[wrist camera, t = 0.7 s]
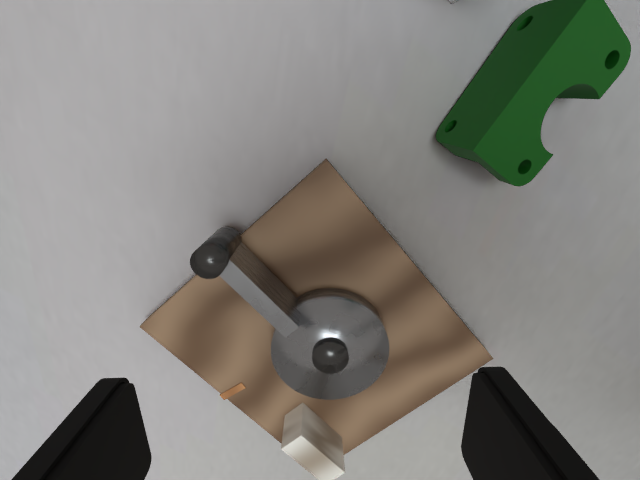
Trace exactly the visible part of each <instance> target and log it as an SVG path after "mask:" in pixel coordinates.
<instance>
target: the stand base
mask: <svg viewBox="0 0 640 480" xmlns="http://www.w3.org/2000/svg"><path fill="white" fill-rule="evenodd" d="M240 236H241V239H242V243H243V244H244V245H245V246H246V247H247V248H248V249H249V250H250V251H251V252H252V253H253V254H254V255H255V256H256V257H257V258H258V259H259V260H260V261H261V262H262V263H263V264H264V265H265V266H266V267H267V268H268V269H269V270H270V271H271V272H272V273H273V274H274V275H275V276H276V277H277V278H278V279H279V280H280V281H281V282H282V283H283V284H284V285H285V286H286V287H287V288H288V289H289V290H290V291H291V292H292V293H293V294H294V295H295V296H296V297H298V296H300V295H302V294H304V293H307V292H310V291H313V290H317V289H323V288H337V289H343V290H347V291H350V292H353V293H356V294H358V295H360V296H361V297H363V298H364V299H366V300H367V301H368V302H369V303H371V304H372V305H373V307H374V308H375V309H376V310H377V312H378V313H379V315H380V317H381V319H382V322H383V325H384V327H385V330H386V333H387V336H388V340H389V357H388V362H387V364H386V367H385V369H384V371H383V372H382V374H381V375H380V377H379V378H378V379H377V380H376V381H375V382H374V383H373V384H372V385H371V386H369V387H368V388H367V389H365V390H363V391H362V392H360V393H358V394H356V395H353V396H350V397H347V398H342V399H335V400H323V399H316V398H311V397H308V396H305V395H303V394H300V393H298V392H297V391H295V390H293V389H292V388H290V387H289V386H288V385H287V384H286V383H285V382H284V381H283V380H282V379H281V378H280V377H279V375H278V374H277V372H276V370H275V368H274V366H273V363H272V359H271V342H272V337H273V333H274V327H273V326H272V325H271V324H270V323H269V322H268V321H267V320H266V319H265V318H264V317H263V316H262V315H260V314H259V313H258V312H257V311H256V310H255V309H254V308H253V307H252V306H251V305H250V304H249V303H248V302H247V301H246V300H245V299H243V298H242V297H241V296H240V295H239V294H238V293H237V292H236V291H235V290H234V289H233V288H232V287H231V286H230V285H229V284H228V283H226V282H225V281H224V280H223V279H222V278H221V277H220V276H218V277H216V278H214V279H204V278H201V277H199V276H198V275H197V274H196V275H195V276H194V277H193V278H192V279H191V280H190V281H188V282H187V283H186V284H185V285H184V286H183V287H182V288H181V289H179V290H178V291H177V292H176V293H175V294H174V295H173V296H172V297H170V298H169V299H168V300H167V301H166V302H165V303H164V304H163V305H161V306H160V307H159V308H158V309H157V310H156V311H155V312H154V313H152V314H151V315H150V316H149V317H148V318H147V319H146V320H145V321H144V322H143V323H142V324H141V325H140V328H142V329H143V330H144V331H145V332H147V333H148V334H149V335H150V336H151V337H153V338H154V339H155V340H156V341H157V342H159V343H160V344H161V345H162V346H164V347H165V348H166V349H167V350H168V351H170V352H171V353H172V354H173V355H174V356H176V357H177V358H178V359H179V360H181V361H182V362H183V363H184V364H185V365H187V366H188V367H189V368H190V369H192V370H193V371H194V372H195V373H196V374H198V375H199V376H200V377H201V378H202V379H204V380H205V381H206V382H207V383H209V384H210V385H211V386H212V387H213V388H215V389H216V390H217V391H218V392H219V393H221V394H220V396H221V397H222V398H223V399H224V400H225V399H228V400H229V401H230V402H232V403H233V404H234V405H235V406H237V407H238V408H239V409H240V410H241V411H243V412H244V413H245V414H246V415H247V416H249V417H250V418H251V419H252V420H254V421H255V422H256V423H257V424H258V425H260V426H261V427H262V428H263V429H265V430H266V431H267V432H268V433H269V434H271V435H272V436H273V437H274V438H275V439H277V440H278V441H279V442H280V443H282V445H281V449H282V450H283V451H284V452H285V453H286V454H288V455H289V456H290V457H291V458H293V459H294V460H295V461H296V462H297V463H299V464H300V465H301V466H302V467H304V468H305V469H306V470H307V471H309V472H310V473H311V474H312V475H313V476H315V477H316V478H317V479H318V480H334V479H336V478H337V477H339V476H340V475H342V474H344V473H345V467H344V454H346V453H348V452H349V451H351V450H352V449H354V448H355V447H357V446H358V445H360V444H362V443H363V442H365V441H366V440H368V439H369V438H371V437H372V436H374V435H376V434H377V433H379V432H380V431H382V430H383V429H385V428H386V427H388V426H389V425H391V424H393V423H394V422H396V421H397V420H399V419H400V418H402V417H403V416H405V415H407V414H408V413H410V412H411V411H413V410H414V409H416V408H417V407H419V406H421V405H422V404H424V403H425V402H427V401H428V400H430V399H431V398H433V397H435V396H436V395H438V394H439V393H441V392H442V391H444V390H445V389H447V388H449V387H450V386H452V385H453V384H455V383H456V382H458V381H459V380H461V379H463V378H464V377H466V376H467V375H469V374H470V373H472V372H473V371H475V370H476V369H478V368H480V367H481V366H483V365H484V364H486V363H487V362H489V361H490V360H492V359H493V358H492V356H491V355H490V354H489V353H488V351H487V350H486V349H485V348H484V347H483V345H482V344H481V343H480V342H479V341H478V339H477V338H476V337H475V336H474V335H473V333H472V332H471V331H470V330H469V329H468V327H467V326H466V325H465V324H464V323H463V321H462V320H461V319H460V318H459V317H458V316H457V314H456V313H455V312H454V311H453V310H452V308H451V307H450V306H449V305H448V304H447V302H446V301H445V300H444V299H443V298H442V296H441V295H440V294H439V293H438V292H437V290H436V289H435V288H434V287H433V286H432V284H431V283H430V282H429V281H428V280H427V278H426V277H425V276H424V275H423V274H422V273H421V271H420V270H419V269H418V268H417V267H416V265H415V264H414V263H413V262H412V261H411V259H410V258H409V257H408V256H407V255H406V253H405V252H404V251H403V250H402V249H401V247H400V246H399V245H398V244H397V243H396V241H395V240H394V239H393V238H392V237H391V235H390V234H389V233H388V232H387V231H386V230H385V228H384V227H383V226H382V225H381V224H380V222H379V221H378V220H377V219H376V218H375V216H374V215H373V214H372V213H371V212H370V210H369V209H368V208H367V207H366V206H365V204H364V203H363V202H362V201H361V200H360V198H359V197H358V196H357V195H356V194H355V192H354V191H353V190H352V189H351V188H350V187H349V185H348V184H347V183H346V182H345V181H344V179H343V178H342V177H341V176H340V175H339V173H338V172H337V171H336V170H335V169H334V167H333V166H332V165H331V164H330V163H329V161H328V160H327V159H325V160H324V161H323V162H322V163H321V164H320V165H318V166H317V167H316V168H315V169H314V170H313V171H312V172H311V173H309V174H308V175H307V176H306V177H305V178H304V179H303V180H302V181H301V182H299V183H298V184H297V185H296V186H295V187H294V188H293V189H292V190H290V191H289V192H288V193H287V194H286V195H285V196H284V197H283V198H281V199H280V200H279V201H278V202H277V203H276V204H275V205H274V206H272V207H271V208H270V209H269V210H268V211H267V212H266V213H265V214H264V215H262V216H261V217H260V218H259V219H258V220H257V221H256V222H255V223H253V224H252V225H251V226H250V227H249V228H248V229H247V230H246V231H244V232H243V233H242V234H241V235H240Z"/></svg>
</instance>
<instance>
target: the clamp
mask: <svg viewBox="0 0 640 480" xmlns="http://www.w3.org/2000/svg"><path fill="white" fill-rule="evenodd" d="M630 52H631V45H630V42H629V40H628V38H627V36H626V35H625V33H624V32H623V30H622V28H621V27H620V25H619V24H618V22H617V20H616V19H615V17H614V16H613V14H612V12H611V11H610V9H609V8H608V6H607V4H606V3H605V1H604V0H552V1H548V2H545V3H541V4H538V5H535V6H533V7H531V8H530V9H528V10H527V11H525V12H524V13H523V14H522V15H520V16H519V17H518V18H517V19H516V20H515V21H514V23H513V24H512V25H511V26H510V28H509V29H508V31H507V32H506V33H505V35H504V36H503V38H502V39H501V41H500V42H499V43H498V45H497V46H496V48H495V49H494V50H493V52H492V53H491V55H490V56H489V57H488V59H487V60H486V62H485V63H484V64H483V66H482V67H481V69H480V70H479V72H478V73H477V74H476V76H475V77H474V79H473V80H472V81H471V83H470V84H469V86H468V87H467V88H466V90H465V91H464V93H463V94H462V95H461V97H460V98H459V100H458V101H457V102H456V104H455V105H454V107H453V108H452V110H451V111H450V112H449V114H448V115H447V117H446V118H445V119H444V121H443V122H442V124H441V125H440V127H439V128H438V130H437V133H436V139H437V141H438V142H440V143H441V144H442V145H443V146H444V147H446V148H447V149H448V150H449V151H450V152H452V153H453V154H454V155H456V156H459V157H462V158H466V159H469V160H472V161H475V162H478V163H479V164H481V165H482V166H483V167H484V168H485V169H487V170H488V171H489V172H490V173H491V174H492V175H494V176H495V177H496V178H497V179H498V180H500V181H503V182H506V183H509V184H511V185H514V186H523V185H525V184H527V183H529V182H530V181H531V180H532V179H533V178H534V177H535V176H536V175H537V174H538V172H539V171H540V170H541V169H542V168H543V166H544V165H545V164H546V163H547V162H548V160H549V159H550V158H551V157H552V156H553V154H551V153H549V152H548V151H546V149H545V148H544V147H543V145H542V142H541V125H542V121H543V118H544V116H545V113H546V111H547V109H548V108H549V106H550V105H551V103H552V102H553V101H554V99H555V98H580V99H600V98H601V97H602V95H603V94H604V93H605V92H606V91H607V89H608V88H609V87H610V86H611V85H612V83H613V82H614V81H615V80H616V79H617V77H618V76H619V75H620V74H621V73H622V71H623V70H624V68H625V67H626V65H627V63H628V60H629V57H630Z"/></svg>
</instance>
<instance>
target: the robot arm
mask: <svg viewBox="0 0 640 480" xmlns="http://www.w3.org/2000/svg"><path fill="white" fill-rule="evenodd" d="M461 449H462V455H463V458H464V461H465V463H466V465H467V467H468V469H469V471H470V473H471V476H472V478H473V480H599V479H598V477H597V476H596V475H595V474H594V473H593V472H592V470H591V469H590V468H589V467H588V466H587V464H586V463H585V462H584V461H583V460H582V458H581V457H580V456H579V455H578V454H577V452H576V451H575V450H574V449H573V448H572V446H571V445H570V444H569V443H568V442H567V440H566V439H565V438H564V437H563V436H562V435H561V433H560V432H559V431H558V430H557V429H556V428H555V427H554V426H553V425H552V424H551V423H550V422H549V420H548V419H547V418H546V417H545V416H544V414H543V413H542V412H541V411H540V410H539V408H538V407H537V406H536V405H535V404H534V402H533V401H532V400H531V399H530V398H529V396H528V395H527V394H526V393H525V392H524V390H523V389H522V388H521V387H520V386H519V384H518V383H517V382H516V381H515V380H514V378H513V377H512V376H511V375H510V374H509V372H508V371H507V370H506V369H505V368H503V367H481V368H479V370H478V373H474V374H473V376H472V381H471V388H470V394H469V400H468V406H467V413H466V419H465V425H464V431H463V438H462V444H461ZM150 464H151V452H150V448H149V444H148V440H147V436H146V432H145V427H144V423H143V419H142V415H141V411H140V407H139V403H138V399H137V395H136V391H135V387H134V385H133V384H132V383H129V381H128V379H126V378H103V379H101V380H99V381H98V382H97V383H96V384H95V386H94V387H93V388H92V389H91V390H90V391H89V392H88V393H87V395H86V396H85V397H84V398H83V399H82V400H81V401H80V403H79V404H78V405H77V406H76V407H75V408H74V409H73V410H72V412H71V413H70V414H69V415H68V416H67V417H66V418H65V420H64V421H63V422H62V423H61V424H60V425H59V426H58V427H57V429H56V430H55V431H54V432H53V433H52V434H51V435H50V437H49V438H48V439H47V440H46V441H45V442H44V443H43V444H42V446H41V447H40V448H39V449H38V450H37V451H36V452H35V454H34V455H33V456H32V457H31V458H30V459H29V460H28V462H27V463H26V464H25V465H24V466H23V467H22V468H21V469H20V471H19V472H18V473H17V474H16V475H15V476H14V477H13V479H12V480H144V479H145V477H146V475H147V473H148V471H149V468H150Z"/></svg>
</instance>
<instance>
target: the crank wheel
mask: <svg viewBox="0 0 640 480" xmlns="http://www.w3.org/2000/svg"><path fill="white" fill-rule="evenodd" d="M190 265H191V268H192V270H193V271H194V273H195V274H197V275H198V276H199V277H201V278H204V279H214V278H216V277H218V276H220V277H221V278H222V279H223V280H224V281H225V282H226V283H228V284H229V285H230V286H231V287H232V288H233V289H234V290H235V291H236V292H237V293H238V294H239V295H240V296H241V297H242V298H243V299H245V300H246V301H247V302H248V303H249V304H250V305H251V306H252V307H253V308H254V309H255V310H256V311H257V312H258V313H259V314H260V315H262V316H263V317H264V318H265V319H266V320H267V321H268V322H269V323H270V324H271V325H272V326H273V327H274V333H273V337H272V342H271V359H272V363H273V366H274V368H275V370H276V372H277V374H278V375H279V377H280V378H281V379H282V380H283V381H284V382H285V383H286V384H287V385H288V386H289V387H290V388H292V389H293V390H295V391H297V392H298V393H300V394H303V395H305V396H308V397H311V398H316V399H323V400H335V399H342V398H347V397H350V396H353V395H356V394H358V393H360V392H362V391H363V390H365V389H367V388H368V387H369V386H371V385H372V384H373V383H374V382H375V381H376V380H377V379H378V378H379V377H380V375H381V374H382V372H383V371H384V369H385V367H386V364H387V362H388V357H389V340H388V336H387V333H386V330H385V327H384V325H383V322H382V319H381V317H380V315H379V313H378V312H377V310H376V309H375V308H374V307H373V305H372V304H371V303H369V302H368V301H367V300H366V299H364V298H363V297H361V296H360V295H358V294H356V293H353V292H350V291H347V290H343V289H337V288H323V289H317V290H313V291H310V292H307V293H304V294H302V295H300V296H298V297H296V296H295V295H294V294H293V293H292V292H291V291H290V290H289V289H288V288H287V287H286V286H285V285H284V284H283V283H282V282H281V281H280V280H279V279H278V278H277V277H276V276H275V275H274V274H273V273H272V272H271V271H270V270H269V269H268V268H267V267H266V266H265V265H264V264H263V263H262V262H261V261H260V260H259V259H258V258H257V257H256V256H255V255H254V254H253V253H252V252H251V251H250V250H249V249H248V248H247V247H246V246H245V245H244V244H243V243H242V239H241V236H240V234H239V232H238V231H237V230H235V229H234V228H231V227H222V228H220V229H218V230H217V231H216V232H215V233H214V234H213V235H212V236H211V237H210V238H209V239H208V240H207V241H205V242H204V243H203V244H202V245H201V246H200V247H199V248H198V249H197V250H196V251H195V252H194V253H193V254H192V256H191V259H190Z"/></svg>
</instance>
